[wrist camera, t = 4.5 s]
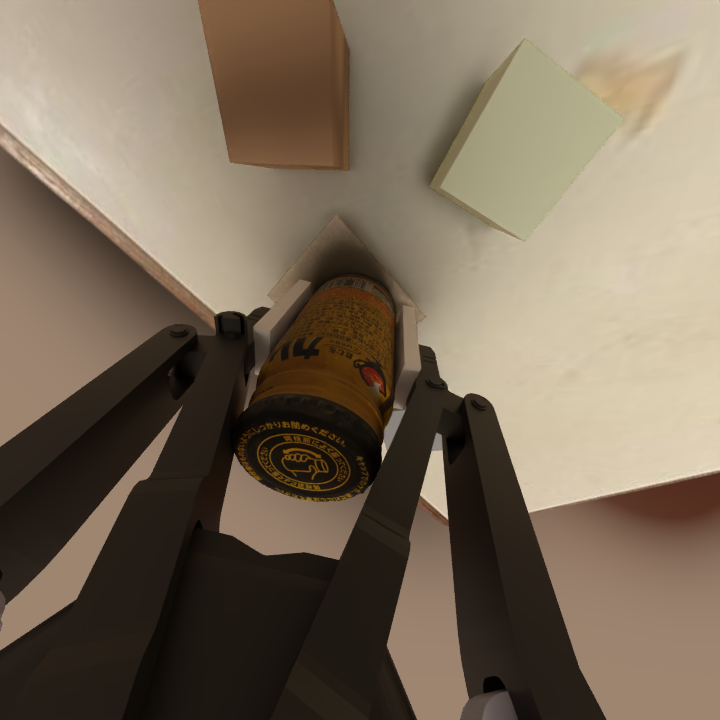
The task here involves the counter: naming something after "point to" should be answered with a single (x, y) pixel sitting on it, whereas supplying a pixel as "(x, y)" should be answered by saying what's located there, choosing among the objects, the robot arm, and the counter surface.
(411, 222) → the counter surface
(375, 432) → the condiment
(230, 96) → the walnut cube
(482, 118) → the sage cube
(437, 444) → the slate cube
